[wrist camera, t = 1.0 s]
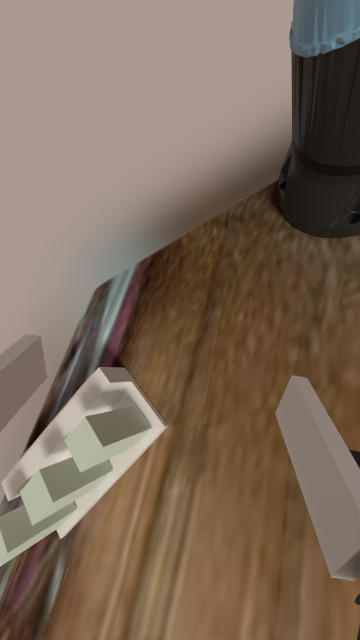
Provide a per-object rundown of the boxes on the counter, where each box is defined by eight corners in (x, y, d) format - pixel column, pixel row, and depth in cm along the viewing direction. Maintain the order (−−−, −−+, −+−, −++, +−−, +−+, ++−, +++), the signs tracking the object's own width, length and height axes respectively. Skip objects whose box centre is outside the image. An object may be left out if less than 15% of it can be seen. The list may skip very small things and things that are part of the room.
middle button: (99, 446, 37) (38, 469, 28) (113, 470, 35) (53, 502, 27) (84, 463, 38) (19, 491, 29) (96, 487, 36) (32, 525, 27)
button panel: (125, 367, 40) (99, 366, 34) (168, 425, 35) (145, 435, 29) (37, 468, 43) (1, 482, 38) (65, 535, 38) (29, 561, 33)
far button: (65, 484, 38) (-4, 518, 29) (76, 509, 37) (7, 553, 28) (50, 501, 39) (-21, 539, 30) (61, 526, 37) (-12, 574, 28)
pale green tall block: (136, 405, 36) (85, 416, 27) (152, 427, 34) (103, 447, 25) (119, 424, 36) (64, 440, 28) (134, 447, 35) (80, 472, 26)
